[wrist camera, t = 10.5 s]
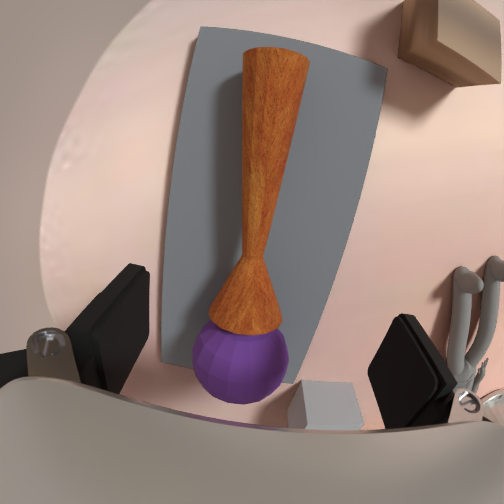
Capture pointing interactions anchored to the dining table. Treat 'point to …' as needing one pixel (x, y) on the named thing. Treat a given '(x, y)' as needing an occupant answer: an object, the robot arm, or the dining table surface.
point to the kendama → (254, 239)
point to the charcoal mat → (290, 195)
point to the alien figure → (460, 322)
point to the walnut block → (452, 41)
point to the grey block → (324, 407)
